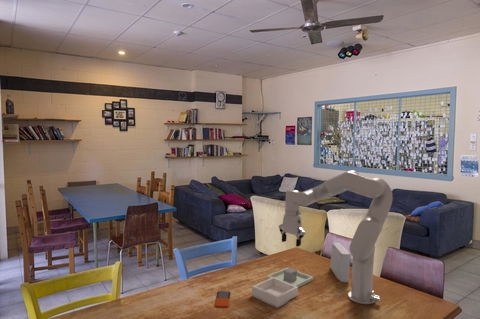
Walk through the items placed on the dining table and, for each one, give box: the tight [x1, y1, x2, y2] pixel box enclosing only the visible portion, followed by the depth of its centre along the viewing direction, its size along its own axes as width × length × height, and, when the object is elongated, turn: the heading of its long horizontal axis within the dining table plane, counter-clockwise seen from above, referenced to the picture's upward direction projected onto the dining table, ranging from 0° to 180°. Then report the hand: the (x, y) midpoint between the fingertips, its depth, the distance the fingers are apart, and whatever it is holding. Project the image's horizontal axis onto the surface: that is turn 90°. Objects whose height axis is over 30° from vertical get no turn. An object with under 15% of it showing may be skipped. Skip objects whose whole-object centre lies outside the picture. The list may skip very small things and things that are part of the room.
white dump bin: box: [251, 277, 299, 309], centre depth 162 cm, size 16×16×5 cm
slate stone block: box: [284, 267, 298, 282], centre depth 180 cm, size 5×5×5 cm
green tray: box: [266, 267, 314, 289], centre depth 180 cm, size 18×18×2 cm
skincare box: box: [329, 242, 352, 283], centre depth 189 cm, size 21×6×16 cm, turn 179°
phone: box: [214, 290, 231, 309], centre depth 158 cm, size 6×1×15 cm
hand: (291, 243), depth 179 cm, fingers open, 9 cm apart
